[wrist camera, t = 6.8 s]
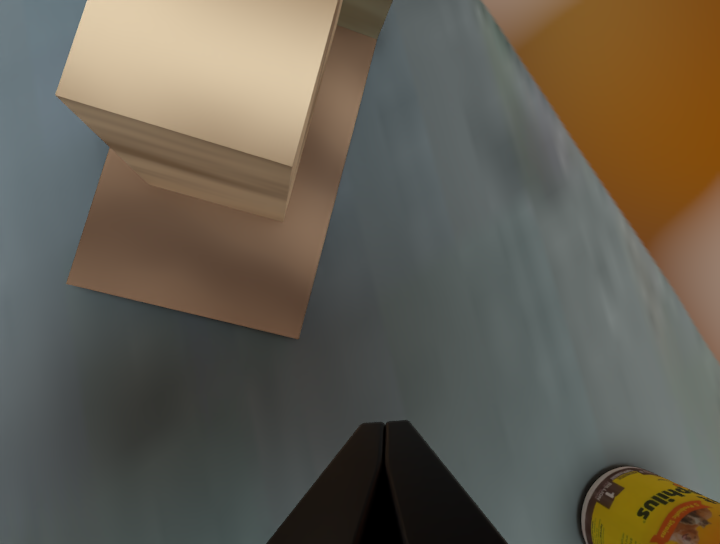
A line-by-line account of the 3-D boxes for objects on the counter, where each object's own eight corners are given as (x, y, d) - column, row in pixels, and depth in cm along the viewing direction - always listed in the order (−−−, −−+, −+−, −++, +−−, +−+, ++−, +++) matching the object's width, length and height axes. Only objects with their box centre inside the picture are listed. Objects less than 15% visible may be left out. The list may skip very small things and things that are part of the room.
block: (282, 222, 21) (292, 166, 12) (148, 184, 20) (55, 94, 11) (337, 25, 22) (380, -155, 14) (212, -21, 21) (170, -247, 13)
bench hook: (296, 336, 23) (307, 350, 16) (80, 284, 21) (-3, 278, 14) (377, 29, 24) (415, -68, 18) (183, -42, 23) (149, -176, 16)
